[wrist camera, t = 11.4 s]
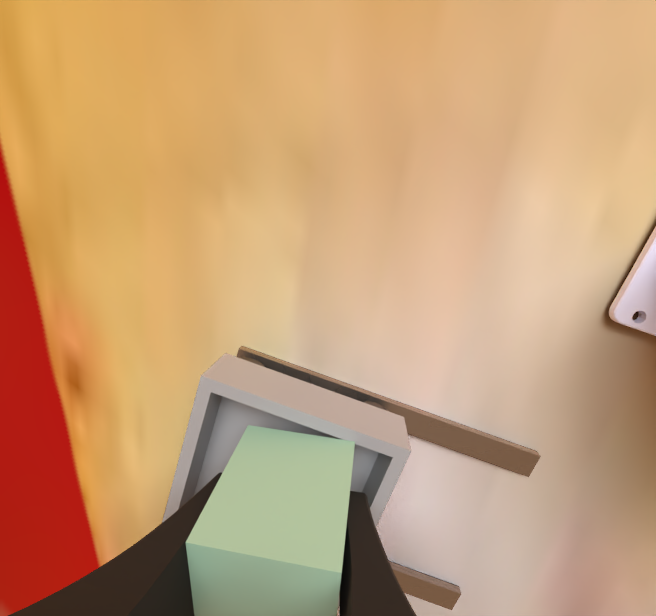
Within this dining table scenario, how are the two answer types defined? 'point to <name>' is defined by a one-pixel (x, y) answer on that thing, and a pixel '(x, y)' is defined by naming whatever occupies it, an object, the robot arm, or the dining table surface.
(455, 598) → the rails
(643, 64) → the dining table surface
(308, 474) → the green block
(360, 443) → the grey shallow tray
